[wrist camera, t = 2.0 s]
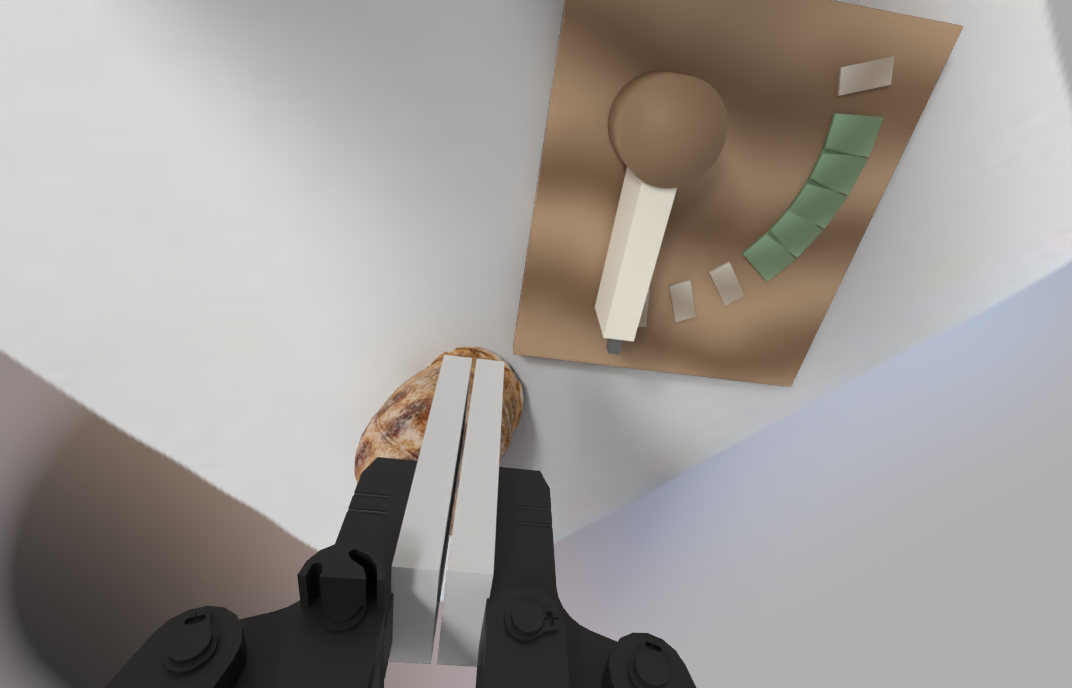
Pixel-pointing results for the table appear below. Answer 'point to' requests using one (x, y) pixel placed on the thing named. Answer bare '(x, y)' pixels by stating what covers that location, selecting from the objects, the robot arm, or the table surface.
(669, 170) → the lever
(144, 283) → the table surface
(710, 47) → the dial board
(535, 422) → the table surface
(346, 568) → the robot arm
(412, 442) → the seashell
